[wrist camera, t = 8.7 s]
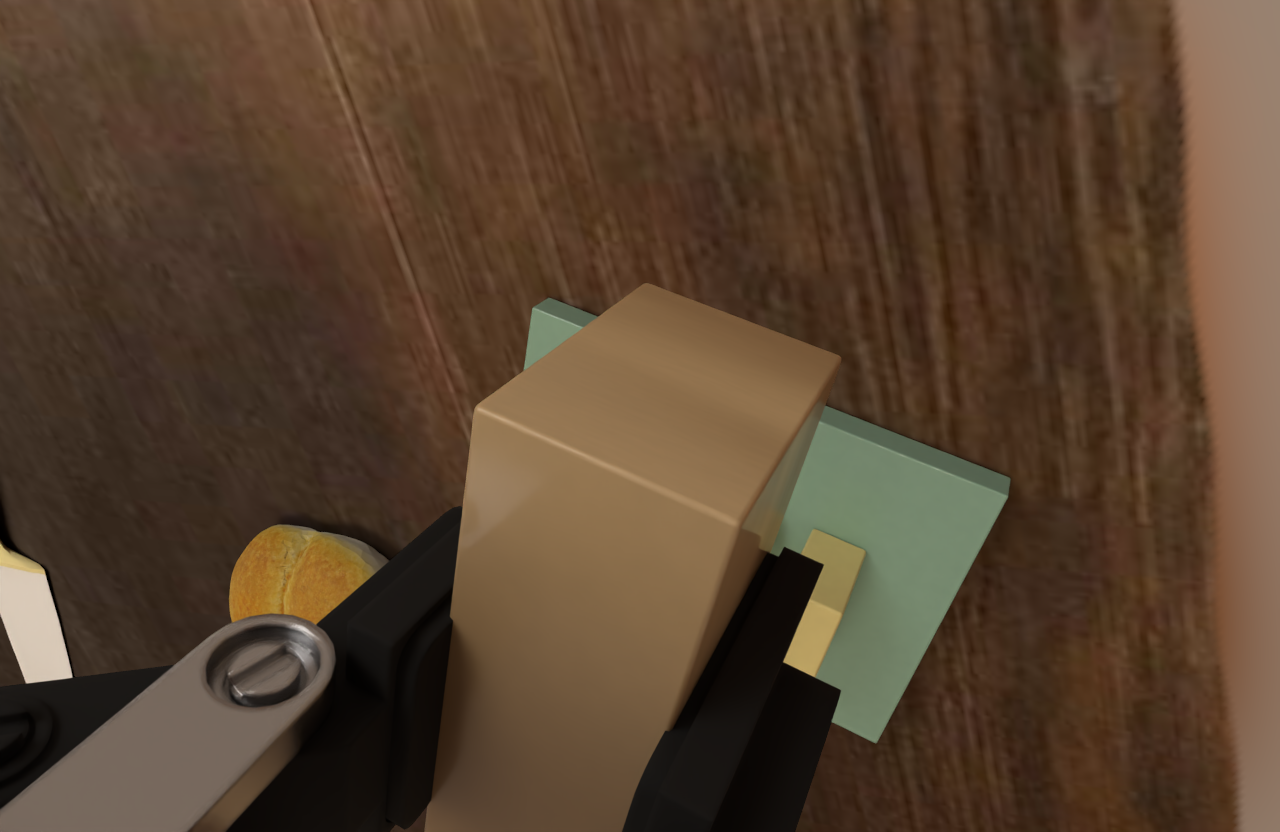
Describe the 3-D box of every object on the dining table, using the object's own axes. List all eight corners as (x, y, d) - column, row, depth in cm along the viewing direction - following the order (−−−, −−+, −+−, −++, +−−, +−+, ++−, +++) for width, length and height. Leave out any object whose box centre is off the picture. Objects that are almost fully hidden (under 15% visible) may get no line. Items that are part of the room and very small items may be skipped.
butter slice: (813, 526, 25) (784, 588, 22) (867, 549, 24) (843, 615, 22) (779, 613, 27) (749, 679, 24) (829, 636, 26) (803, 705, 24)
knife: (121, 787, 60) (61, 764, 60) (-6, 354, 42) (-89, 329, 42) (106, 804, 59) (45, 780, 59) (-31, 366, 41) (-116, 340, 41)
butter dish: (548, 296, 26) (474, 343, 23) (1011, 477, 23) (998, 563, 20) (511, 543, 32) (446, 609, 29) (882, 722, 28) (855, 820, 25)
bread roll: (247, 506, 38) (168, 557, 34) (411, 534, 34) (340, 594, 31) (299, 656, 41) (232, 716, 38) (454, 698, 37) (394, 767, 34)
